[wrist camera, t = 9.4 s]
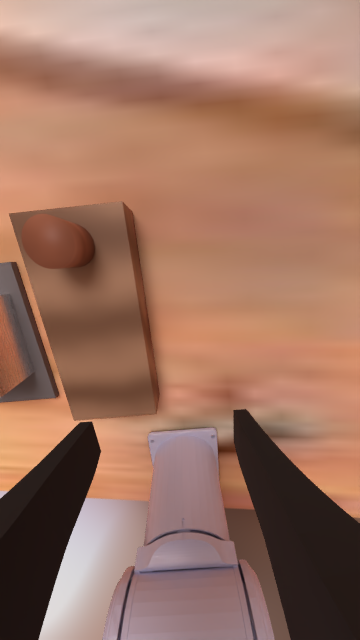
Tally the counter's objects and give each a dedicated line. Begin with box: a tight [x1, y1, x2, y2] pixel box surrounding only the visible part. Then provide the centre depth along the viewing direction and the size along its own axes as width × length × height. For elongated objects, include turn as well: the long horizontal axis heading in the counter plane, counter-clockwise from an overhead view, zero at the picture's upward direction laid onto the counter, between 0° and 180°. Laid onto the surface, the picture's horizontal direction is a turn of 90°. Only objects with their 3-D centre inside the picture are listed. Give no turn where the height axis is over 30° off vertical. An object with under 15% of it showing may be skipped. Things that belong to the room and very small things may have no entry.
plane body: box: [9, 201, 159, 421], centre depth 16 cm, size 18×8×6 cm, turn 5°
